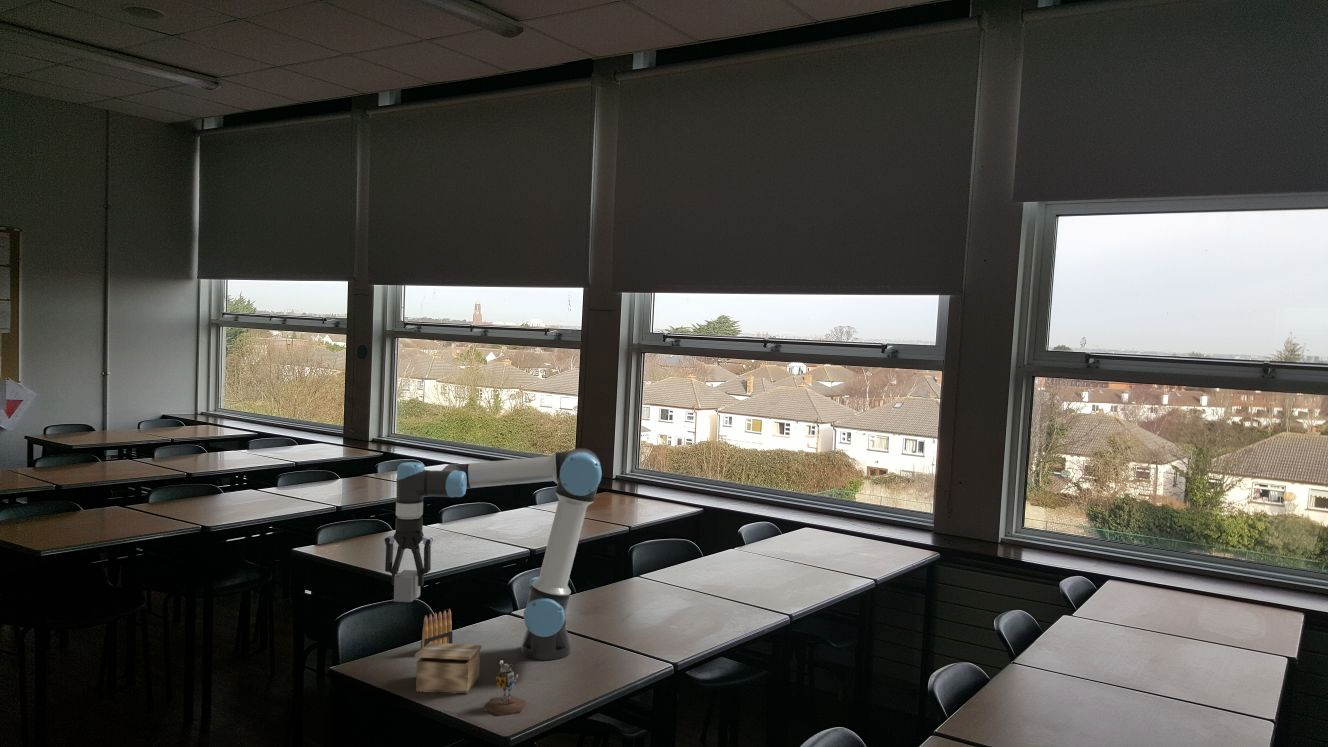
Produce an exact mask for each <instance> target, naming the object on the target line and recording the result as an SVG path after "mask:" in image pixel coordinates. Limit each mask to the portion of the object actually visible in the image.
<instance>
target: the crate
mask: <svg viewBox="0 0 1328 747" xmlns="http://www.w3.org/2000/svg"><path fill="white" fill-rule="evenodd" d="M480 651H481V649H480V650H479V651H478V652H477V653H476V654H475V655H474V656H473V657H472V658H471V659H470V660H461V659H441V658H422V657H419V659H418V660H417V661H416V679H415V683H416V684H415V691H416V692H419V691H420V692H421V693H437V692H452V693H451V694H456V693H468V692H470V691H471V690H470V689H472V688H473V687H474V685H475V684H476V682H477V681H478V679H479V677H480V658H481V657H480V656H481V652H480ZM474 683H475V684H474ZM472 686H473V687H472ZM422 691H423V692H422ZM468 694H469V693H468Z"/></svg>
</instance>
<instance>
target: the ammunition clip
mask: <svg viewBox="0 0 1328 747" xmlns="http://www.w3.org/2000/svg"><path fill="white" fill-rule="evenodd" d="M452 625H453V624H452V611H451V608H449V609H448V612H447V611H446V610H443V612H442V611H439V612H438V614H437V612H434V614H433V616H432V614H431V613H429V617H428V615H424V618H423V627H422V635H421V636H422V637H421V641H420V650H421V649H422V648H423V647H425V646H426V645H427V644H429V643H446V644H453V630H452V627H453V626H452Z"/></svg>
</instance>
